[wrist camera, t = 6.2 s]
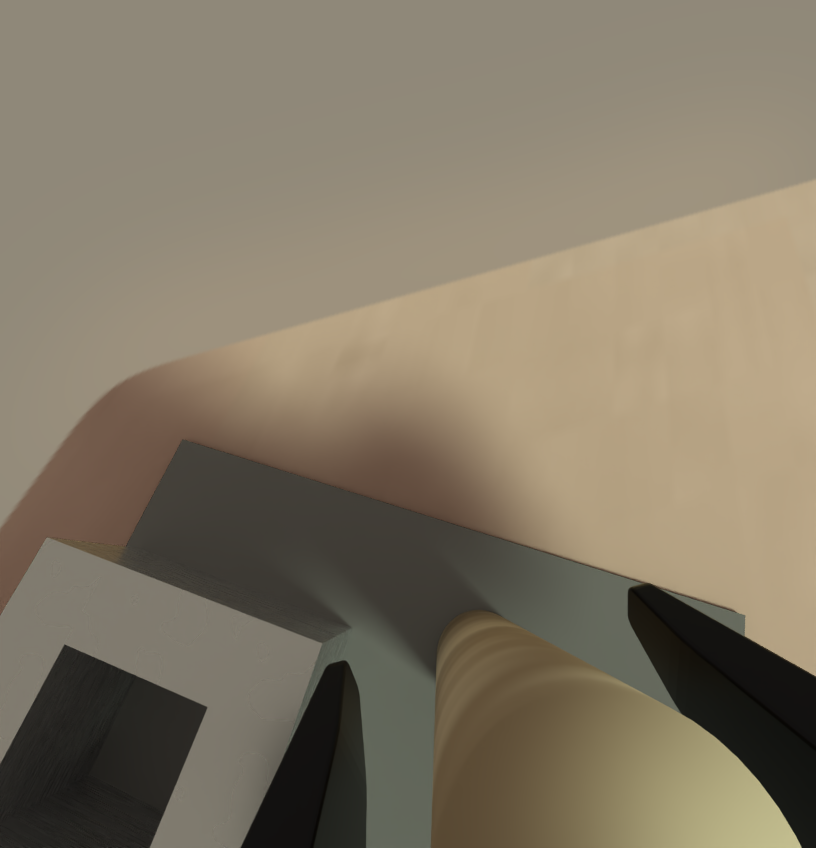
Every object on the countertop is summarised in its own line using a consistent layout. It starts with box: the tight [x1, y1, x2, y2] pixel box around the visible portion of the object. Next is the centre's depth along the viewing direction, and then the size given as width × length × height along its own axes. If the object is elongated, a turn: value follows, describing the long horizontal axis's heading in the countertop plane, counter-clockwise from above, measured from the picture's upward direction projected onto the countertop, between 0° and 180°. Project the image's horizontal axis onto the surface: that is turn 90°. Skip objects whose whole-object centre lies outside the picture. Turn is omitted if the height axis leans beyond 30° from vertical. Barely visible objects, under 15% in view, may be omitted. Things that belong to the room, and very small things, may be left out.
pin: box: [431, 610, 802, 848], centre depth 9 cm, size 3×3×12 cm
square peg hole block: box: [0, 537, 352, 848], centre depth 12 cm, size 9×9×4 cm
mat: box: [89, 440, 745, 848], centre depth 13 cm, size 22×18×1 cm
